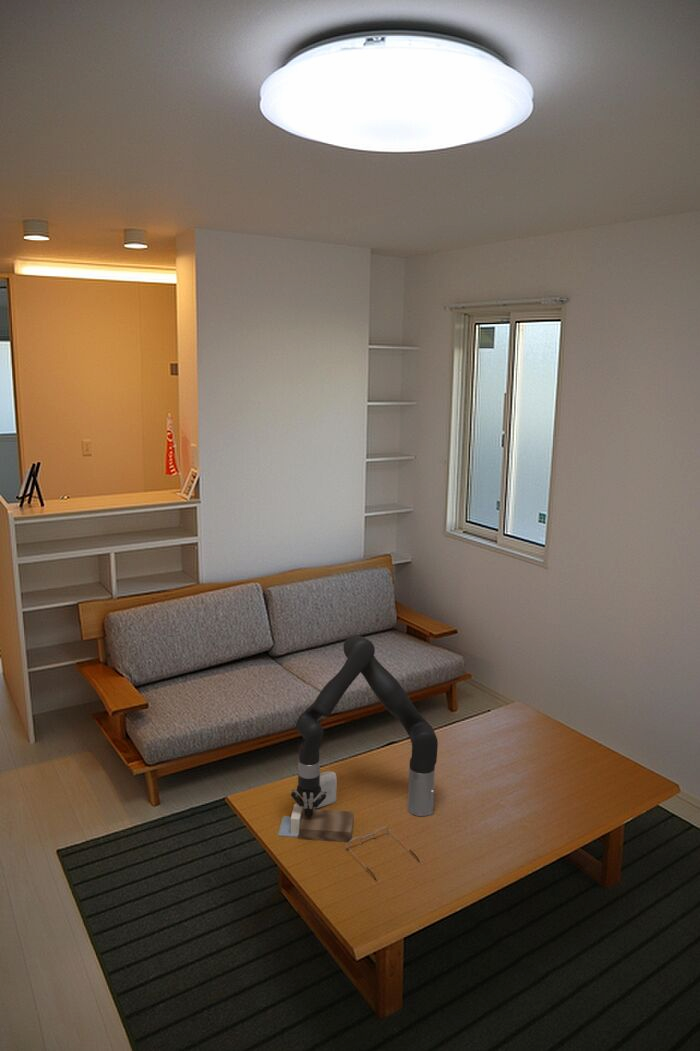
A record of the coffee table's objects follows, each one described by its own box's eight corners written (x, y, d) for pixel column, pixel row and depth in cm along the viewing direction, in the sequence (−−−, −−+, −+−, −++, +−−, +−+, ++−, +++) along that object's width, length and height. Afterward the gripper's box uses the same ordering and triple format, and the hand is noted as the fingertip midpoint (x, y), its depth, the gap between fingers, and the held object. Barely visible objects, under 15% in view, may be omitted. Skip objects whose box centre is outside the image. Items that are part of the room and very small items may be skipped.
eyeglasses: (388, 833, 266) (388, 823, 265) (421, 865, 251) (421, 855, 250) (344, 850, 257) (345, 840, 256) (376, 884, 241) (376, 874, 240)
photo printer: (331, 796, 287) (332, 767, 284) (338, 802, 283) (338, 772, 281) (308, 804, 281) (308, 774, 279) (314, 810, 278) (314, 780, 275)
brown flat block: (353, 821, 272) (353, 811, 271) (351, 842, 260) (351, 832, 259) (303, 818, 273) (303, 808, 272) (299, 839, 261) (299, 828, 260)
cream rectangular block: (302, 804, 271) (294, 803, 271) (299, 819, 262) (290, 818, 262) (302, 819, 272) (294, 818, 272) (299, 834, 263) (290, 834, 263)
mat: (302, 818, 273) (302, 817, 273) (298, 837, 262) (298, 836, 262) (283, 817, 274) (283, 816, 273) (278, 835, 263) (278, 835, 263)
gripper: (329, 767, 265) (328, 811, 269) (291, 765, 266) (291, 809, 270) (326, 778, 258) (326, 824, 262) (288, 776, 259) (288, 821, 263)
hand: (308, 816), depth 266 cm, fingers closed
